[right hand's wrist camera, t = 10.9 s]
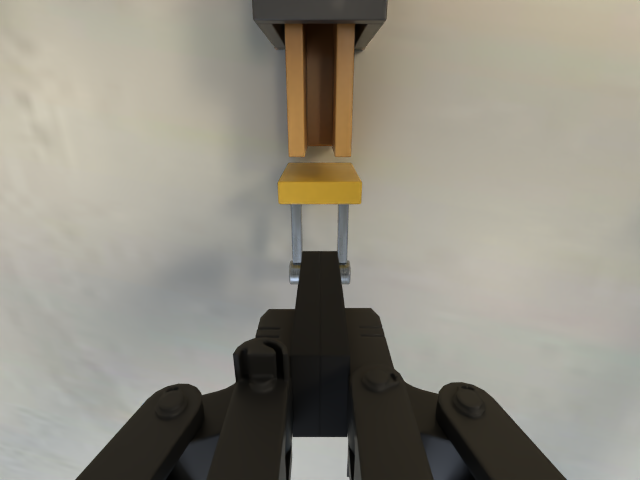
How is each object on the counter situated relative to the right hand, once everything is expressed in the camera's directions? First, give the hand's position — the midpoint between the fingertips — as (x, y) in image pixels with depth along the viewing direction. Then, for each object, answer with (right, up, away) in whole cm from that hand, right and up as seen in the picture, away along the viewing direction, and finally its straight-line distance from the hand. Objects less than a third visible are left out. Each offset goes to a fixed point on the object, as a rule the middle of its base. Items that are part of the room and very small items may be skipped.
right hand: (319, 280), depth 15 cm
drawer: (0, +10, +7) cm, 12 cm away
